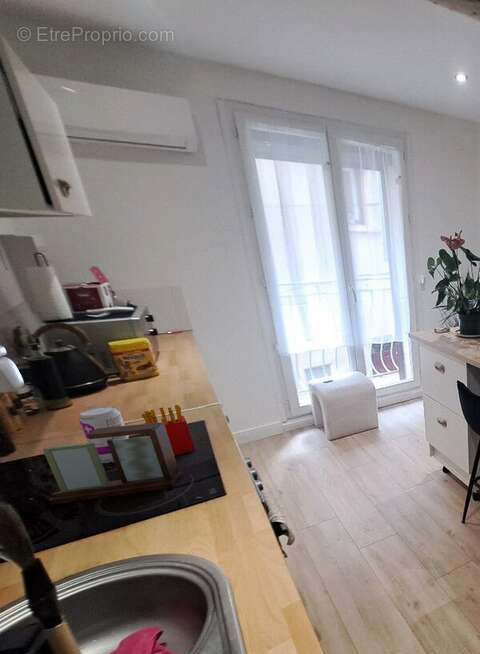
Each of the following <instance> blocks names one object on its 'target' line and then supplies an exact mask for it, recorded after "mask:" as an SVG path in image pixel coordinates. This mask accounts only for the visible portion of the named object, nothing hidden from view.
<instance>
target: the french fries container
mask: <svg viewBox="0 0 480 654" xmlns="http://www.w3.org/2000/svg"><path fill="white" fill-rule="evenodd" d="M158 409H159V411H160V415H161V419H160V420H161V421H160V423H164V425H165V428H166V431H167V434H168V438H169V441H170V444H171V447H172V450H173V453H174V456H175V457H176V456H179V455H184V454H187V453H191V452H195V451H196V447H195V445H194V442H193V439H192V435H191V431H190V428H189V426H188V421H187V419H186V417H185V416H184V415H182V407H181V406H180V404H175V405H174V409H175V414H176V418H175V414H174V411H173V409H172V407H171V406H170V407H167V411H168V414H169V418H170V420H169V419H168V417H167V414H166V411H165V407H163V406H162V407H159V408H158ZM141 417H142V418H143V420H144V421H145V423H143V424H149V423H159V420H158V416H157V415H156V412H155V410H154V409H150V410H145V411H144V412H143V413H142V414H141ZM146 436H150V435H149V433H146Z"/></svg>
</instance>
